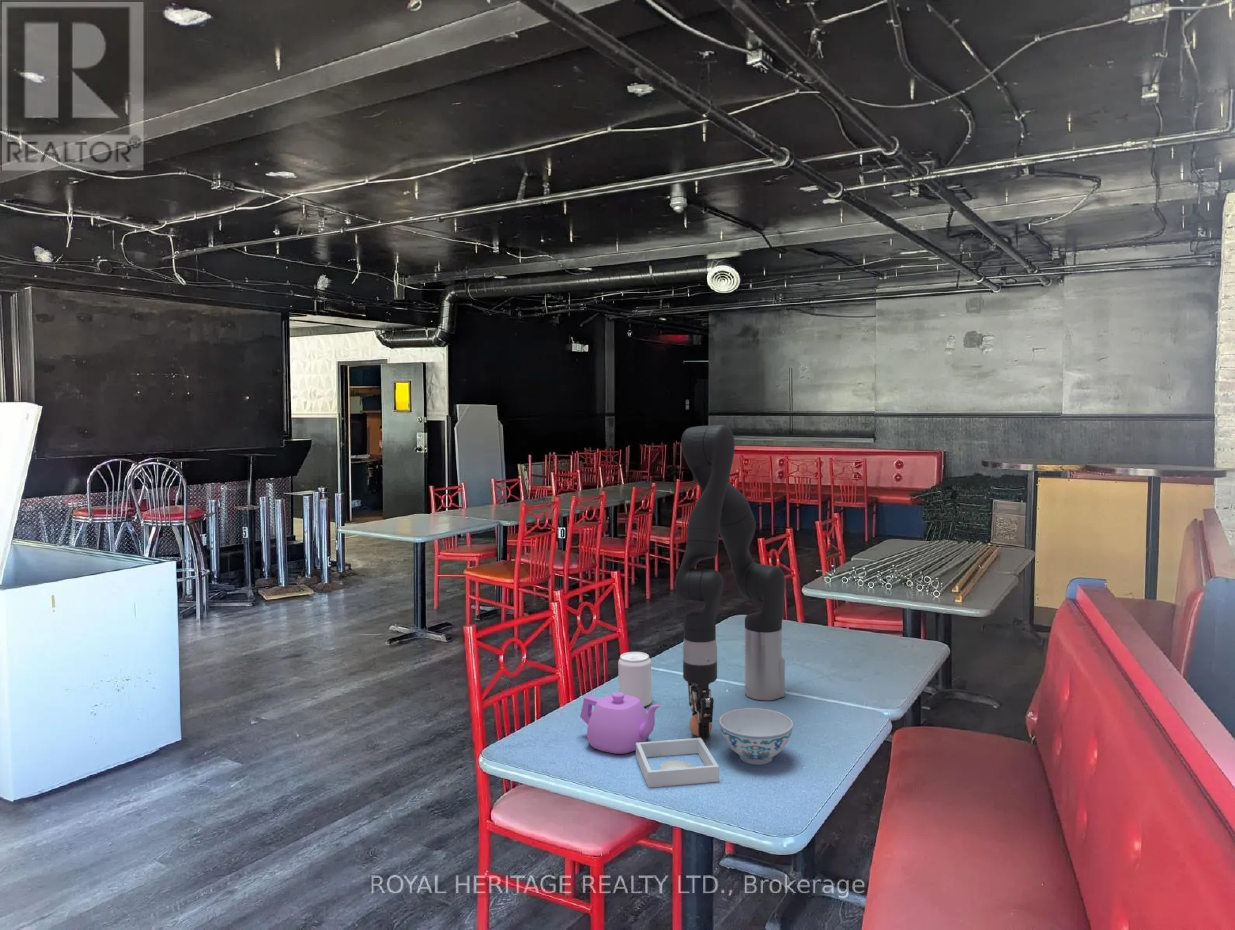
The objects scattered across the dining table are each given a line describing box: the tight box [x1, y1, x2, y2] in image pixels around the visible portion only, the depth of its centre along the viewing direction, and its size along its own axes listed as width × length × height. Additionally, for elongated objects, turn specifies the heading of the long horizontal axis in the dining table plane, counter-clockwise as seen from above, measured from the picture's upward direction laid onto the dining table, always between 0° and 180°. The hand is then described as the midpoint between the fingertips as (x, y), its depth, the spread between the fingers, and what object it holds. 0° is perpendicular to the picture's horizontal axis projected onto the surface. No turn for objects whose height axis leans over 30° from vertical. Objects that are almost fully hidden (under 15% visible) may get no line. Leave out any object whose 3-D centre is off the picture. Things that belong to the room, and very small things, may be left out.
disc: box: [659, 759, 693, 770], centre depth 161 cm, size 6×6×1 cm
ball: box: [688, 714, 713, 737], centre depth 177 cm, size 5×5×5 cm
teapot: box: [580, 691, 662, 755], centre depth 173 cm, size 13×20×11 cm
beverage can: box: [617, 651, 652, 708], centre depth 197 cm, size 8×8×12 cm
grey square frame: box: [635, 737, 720, 788], centre depth 161 cm, size 14×14×3 cm
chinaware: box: [718, 707, 794, 766], centre depth 165 cm, size 15×15×8 cm
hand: (700, 732), depth 177 cm, fingers closed on ball, 5 cm apart
